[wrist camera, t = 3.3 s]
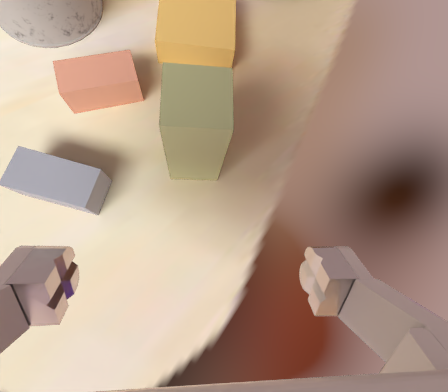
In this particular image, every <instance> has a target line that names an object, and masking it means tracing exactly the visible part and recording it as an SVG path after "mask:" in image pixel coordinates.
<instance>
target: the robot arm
mask: <svg viewBox="0 0 448 392" xmlns="http://www.w3.org/2000/svg"><path fill="white" fill-rule="evenodd" d="M304 256H305V258H306V260H305V261H304V262H303V263H302V264H301V267H300V282H301V285H302V287H303V290H305V291H306V292H307V293H308V294H310V295H309V298H308V301H309V304H310V306H311V308H312V310H313V312H314V315H315V316H338V317H339V319H341V320H342V321H343V322H344V323H345V324H346V325H347V326H348V327H349V328H350V329H351V330H352V331H353V332H354V333H355V334H356V335H357V336H358V337H359V338H361V339H362V340H363V341H364V342H365V343H366V344H367V345H368V346H369V347H370V348H371V349H372V350H373V351H374V352H375V353H376V354H378V356H379V357H381V358H382V359H383V360H384V361H385V362H386V363H385V365H384V366H383V368H382V369H381V371H380V372H379V374H365V375H364V374H363V375H348V376H332V377H318V378H317V377H316V378H300V379H284V380H269V381H253V382H237V383H221V384H207V385H190V386H175V387H159V388H144V389H128V390H112V391H97V392H448V321H446V320H445V319H443V318H441V317H440V316H438V315H436V314H435V313H433V312H431V311H430V310H428V309H426V308H425V307H423V306H422V305H420V304H418V303H417V302H415V301H413V300H412V299H410V298H408V297H407V296H405V295H404V294H402V293H400V292H399V291H397V290H395V289H394V288H392V287H390V286H389V285H387V284H386V283H384V282H382V281H381V280H379V279H374V278H373V277H372V275H371V274H370V273H369V272H368V270H367V269H366V268H365V266H364V265H363V264H362V262H361V261H360V260H359V258H358V257H357V256H356V254H355V253H354V252H353V250H352V249H351V248H350V247H348V246H335V247H308V248H307V249H306V251H305V254H304ZM74 257H75V254H74V251H73V248H72V247H68V246H19V247H17V248H16V249H15V250H14V251H13V252H12V253H11V254H10V255H9V257H8V258H7V259H6V260H5V261H4V262H3V264H2V265H1V266H0V353H2V352H3V351H4V350H5V349H6V348H7V347H8V346H10V345H11V344H12V343H13V342H14V341H15V340H16V339H17V338H19V337H20V336H21V335H22V334H23V333H24V332H25V331H27V330H28V329H29V326H42V325H59V324H60V322H61V320H62V318H63V316H64V314H65V312H66V310H67V308H68V302H67V299H68V298H69V297H71V296H72V295H73V294H74V293H75V291H76V289H77V286H78V281H79V269H78V265H76V264H75V263H74V262H73V261H72V260H73V259H74Z"/></svg>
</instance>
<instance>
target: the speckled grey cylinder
mask: <svg viewBox="0 0 448 392" xmlns="http://www.w3.org/2000/svg"><path fill="white" fill-rule="evenodd" d="M102 11H103V7H102V0H0V26H1V28H2V29H3V30H4V31H5V32H6V33H7V34H9V35H10V36H11V37H13V38H14V39H16V40H18V41H20V42H22V43H25V44H28V45H31V46H35V47H43V48H53V47H62V46H66V45H70V44H73V43H75V42H78V41H80V40H82V39H83V38H85V37H86V36H88V35H89V34H90V33H91V32H92V31H93V30H94V29H95V28H96V27H97V25H98V23H99V21H100V19H101V15H102Z"/></svg>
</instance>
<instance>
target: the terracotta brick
mask: <svg viewBox="0 0 448 392" xmlns="http://www.w3.org/2000/svg"><path fill="white" fill-rule="evenodd" d="M53 64H54V69H55V75H56V80H57V85H58V90H59V94H60V95H61V97H62V98H63V99H64V101H65V102H66V103H67V105H68V106H69V107H70V109H71V110H72V111H73V112H74V114H75V113H81V112H86V111H92V110H97V109H102V108H108V107H113V106H118V105H124V104H129V103H134V102H140V101H144V100H143V96H142V92H141V88H140V85H139V81H138V77H137V74H136V70H135V66H134V63H133V59H132V55H131V52H130V50H124V51H118V52H111V53H104V54H98V55H91V56H84V57H78V58H71V59H64V60H58V61H53Z"/></svg>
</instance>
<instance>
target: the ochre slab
mask: <svg viewBox="0 0 448 392" xmlns="http://www.w3.org/2000/svg"><path fill="white" fill-rule="evenodd" d="M235 23H236V0H159V7H158V16H157V26H156V35H155V44H156V51H157V57H158V63H163V62H166V63H178V64H190V65H203V66H215V67H227V68H231V67H232V62H233V58H234V53H235Z"/></svg>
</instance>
